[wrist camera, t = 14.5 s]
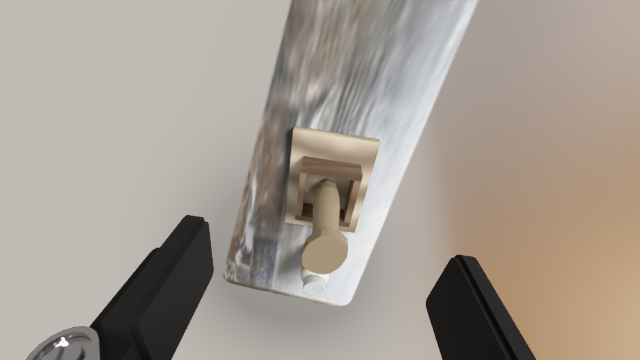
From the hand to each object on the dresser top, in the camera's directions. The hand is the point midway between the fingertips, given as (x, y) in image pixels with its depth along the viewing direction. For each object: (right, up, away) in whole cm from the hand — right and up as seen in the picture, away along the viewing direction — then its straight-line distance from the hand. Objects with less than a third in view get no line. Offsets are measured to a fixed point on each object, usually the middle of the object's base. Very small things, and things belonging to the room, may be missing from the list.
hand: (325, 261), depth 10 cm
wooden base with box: (+1, +3, +34) cm, 34 cm away
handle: (+1, +2, +32) cm, 33 cm away
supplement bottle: (-1, -11, +42) cm, 44 cm away
